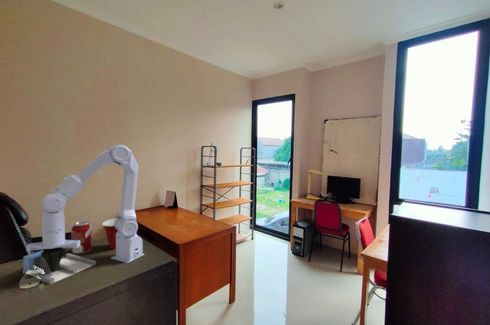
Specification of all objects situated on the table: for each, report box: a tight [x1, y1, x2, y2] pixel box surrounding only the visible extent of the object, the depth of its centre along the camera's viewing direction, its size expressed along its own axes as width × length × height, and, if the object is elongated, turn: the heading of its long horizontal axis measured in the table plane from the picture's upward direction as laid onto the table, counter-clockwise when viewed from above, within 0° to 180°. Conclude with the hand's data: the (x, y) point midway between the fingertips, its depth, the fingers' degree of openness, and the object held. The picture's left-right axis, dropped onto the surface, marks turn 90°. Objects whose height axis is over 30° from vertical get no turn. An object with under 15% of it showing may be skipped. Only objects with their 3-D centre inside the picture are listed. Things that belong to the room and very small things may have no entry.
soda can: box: [71, 220, 93, 255], centre depth 95 cm, size 7×7×12 cm
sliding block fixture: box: [22, 250, 97, 285], centre depth 80 cm, size 16×14×6 cm
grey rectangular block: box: [33, 256, 59, 274], centre depth 79 cm, size 10×4×4 cm, turn 64°
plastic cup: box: [101, 217, 118, 250], centre depth 100 cm, size 11×11×12 cm
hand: (54, 270), depth 76 cm, fingers closed
